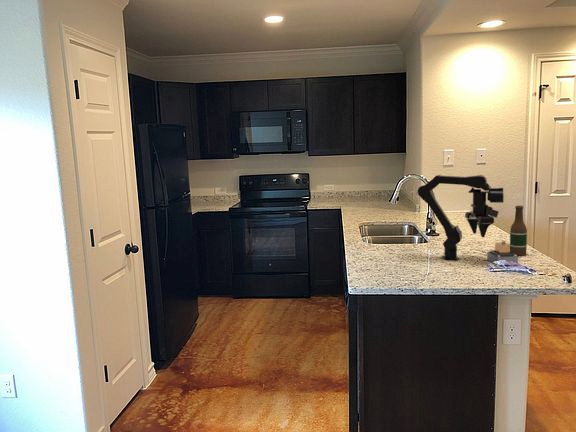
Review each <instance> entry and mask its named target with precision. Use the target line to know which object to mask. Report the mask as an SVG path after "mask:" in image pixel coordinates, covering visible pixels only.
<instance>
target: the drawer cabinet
mask: <svg viewBox="0 0 576 432" xmlns="http://www.w3.org/2000/svg"><path fill="white" fill-rule="evenodd" d="M486 253H487V254H486V258H487V259H486V261H488V262H490V263H491V262H494V261H499V260H506V261H513V262H516V263H518V264H519V256H517V255H515V253H512V252H510V253H508V254H498V253H496V252H495V249H492V250H488V251H487V252H486Z"/></svg>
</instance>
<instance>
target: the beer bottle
mask: <svg viewBox="0 0 576 432" xmlns="http://www.w3.org/2000/svg"><path fill="white" fill-rule="evenodd" d="M514 208H515V215H514V222H512V224H511V226H510V231H509V232H510V233H509V234H510V235H509V244H510V252H512V253H515V255H517V256H518V257H523V256H527V242H528V241H527V240H528V239H527V238H528V229H527V226H526V224H525V222H524V206H523V205H515V207H514Z"/></svg>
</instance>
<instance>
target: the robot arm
mask: <svg viewBox="0 0 576 432" xmlns="http://www.w3.org/2000/svg"><path fill="white" fill-rule="evenodd" d="M439 184H441V185H443V184H445V185H458V186H459V185H460V186H461V185H462V186H467V187H471V189H470V190H469V191H468V193H469V194H472V203H471V205H470V206H471V207H472V211H466V212H465V215H464V218H465V219H466V221H467V222H468V225H469V226H470V229H471V231H472V233H473V234H477V229H478V230H479V233H480V236H481V238H485V236H486V233H487V232H488V231H487V230H488V228H489V227H490V226H491V225H493V224H494V223H495V218H496V219H497V218H498V215H499V213H500V212H499V211H498V210H496V209H493V207H492V206H489V205H488V204H487V201H489V203H496V204H498V203H499V204H503V203H504V201H505V199H504V198H505V194H504V187H497V188H496V187H491V185H490V184H489V183H488V179H487V177H486V176H485V175H483V174H478V175H469V176H457V175H456V176H455V175H441V174H437V175H435V176H434V177H433V178H432V179H431V180H430V181H428V182H427V183H426V184H423V185H421V186H419V187H418V189H417V195H418V196H419V197H420V198H421V200H423V201H424V203H426V204H427V205H428V206H429V208H430V209H431V211H432V212H433V214H434V216H435V218H437V220H438V222H439V223H440V225H441V227H442V228H443V230H444V233H445V237H446V239H445V240H444V241H443V242H442V245H443V249H444V250H443V251H444V252H443V253H444V255H442V256H441V258H443V259H444V260H446V261H450V260H460V257H458V255H457V254H458V246H457V245H458V244H459V243H460V242H461V241H462V239H463V234H462V233H463V231H462V230H461V229H460V227H459V224H458V225H454V224H452V222H451V221H450V219H449V217H448V216H447V215H446V213H445V212H444V210H443V208H442V207H441V205H440V204H439V202H438V201H437V199H436V196H435V192H434V191H433V190H434V189H436V188H437V187H438V186H439Z"/></svg>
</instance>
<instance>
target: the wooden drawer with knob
mask: <svg viewBox="0 0 576 432" xmlns="http://www.w3.org/2000/svg"><path fill="white" fill-rule="evenodd" d="M494 243H495V244H494V250H495V252H496V253H498V254H508V253H510V243H508V242H506V241H505V240H502V241H501V242H494Z"/></svg>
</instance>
